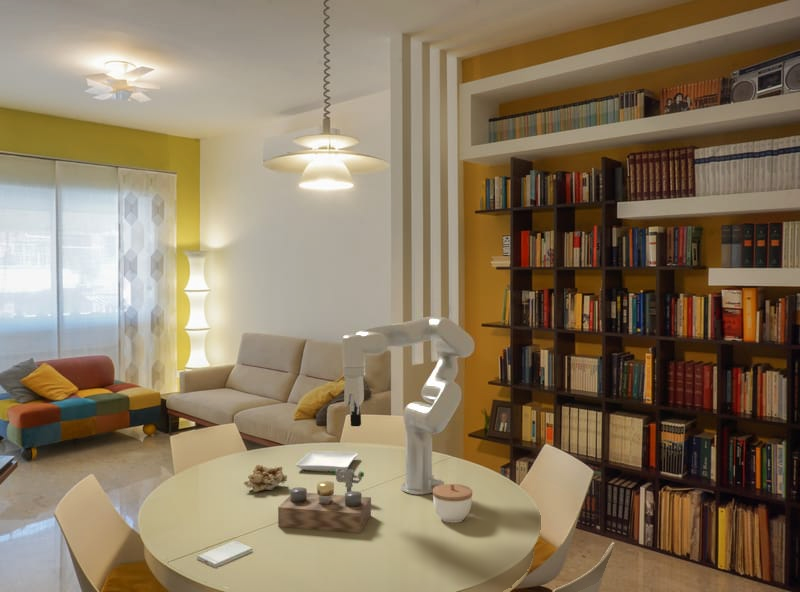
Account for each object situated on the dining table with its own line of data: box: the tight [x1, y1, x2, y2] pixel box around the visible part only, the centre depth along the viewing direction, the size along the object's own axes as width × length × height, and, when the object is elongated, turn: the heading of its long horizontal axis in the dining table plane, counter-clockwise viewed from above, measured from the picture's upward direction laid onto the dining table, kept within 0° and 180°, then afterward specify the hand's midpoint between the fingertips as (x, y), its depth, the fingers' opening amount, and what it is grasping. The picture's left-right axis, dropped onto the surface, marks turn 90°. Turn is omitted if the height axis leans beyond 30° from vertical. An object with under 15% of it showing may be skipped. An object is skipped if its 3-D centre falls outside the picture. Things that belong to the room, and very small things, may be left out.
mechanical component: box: [333, 468, 365, 493], centre depth 218 cm, size 3×10×10 cm, turn 78°
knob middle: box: [316, 480, 335, 505], centre depth 199 cm, size 5×5×8 cm
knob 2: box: [344, 490, 363, 507], centre depth 197 cm, size 5×5×8 cm
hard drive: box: [196, 540, 253, 568], centre depth 175 cm, size 2×8×12 cm
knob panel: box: [277, 492, 372, 534], centre depth 199 cm, size 26×14×6 cm, turn 79°
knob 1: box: [289, 486, 308, 503], centre depth 200 cm, size 5×5×8 cm
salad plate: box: [296, 450, 359, 473], centre depth 257 cm, size 21×21×3 cm
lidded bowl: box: [432, 483, 473, 524], centre depth 201 cm, size 13×13×11 cm
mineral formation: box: [243, 463, 288, 493], centre depth 229 cm, size 8×13×15 cm
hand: (355, 425), depth 211 cm, fingers closed
